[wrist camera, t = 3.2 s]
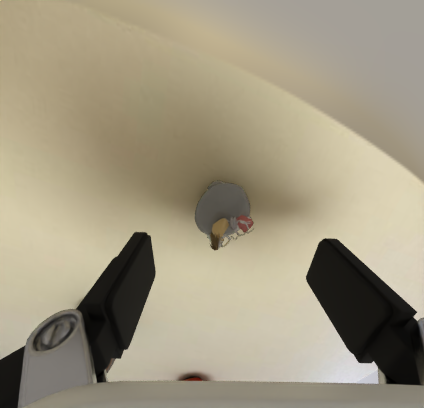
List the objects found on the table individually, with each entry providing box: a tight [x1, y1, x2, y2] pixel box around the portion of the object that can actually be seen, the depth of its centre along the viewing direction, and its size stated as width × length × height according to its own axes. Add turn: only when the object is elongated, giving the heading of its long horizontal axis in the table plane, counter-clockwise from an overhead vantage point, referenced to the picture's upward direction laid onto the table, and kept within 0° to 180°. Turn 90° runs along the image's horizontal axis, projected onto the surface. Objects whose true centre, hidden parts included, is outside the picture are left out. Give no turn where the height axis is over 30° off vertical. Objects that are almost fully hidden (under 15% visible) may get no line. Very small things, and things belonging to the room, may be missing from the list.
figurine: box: [195, 181, 254, 250], centre depth 12 cm, size 5×4×6 cm
